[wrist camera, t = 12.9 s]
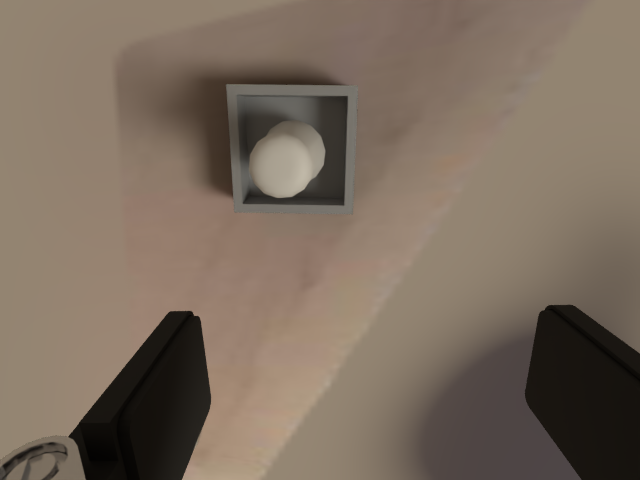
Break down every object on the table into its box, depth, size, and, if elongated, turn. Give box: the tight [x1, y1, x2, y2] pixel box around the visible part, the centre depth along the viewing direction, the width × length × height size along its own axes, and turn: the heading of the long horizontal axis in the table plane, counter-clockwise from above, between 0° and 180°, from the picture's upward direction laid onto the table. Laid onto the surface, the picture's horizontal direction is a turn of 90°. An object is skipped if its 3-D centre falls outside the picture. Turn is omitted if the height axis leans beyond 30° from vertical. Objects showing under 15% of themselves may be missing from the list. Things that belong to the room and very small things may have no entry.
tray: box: [226, 84, 358, 214], centre depth 35 cm, size 11×11×4 cm
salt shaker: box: [249, 120, 325, 198], centre depth 30 cm, size 6×6×13 cm
